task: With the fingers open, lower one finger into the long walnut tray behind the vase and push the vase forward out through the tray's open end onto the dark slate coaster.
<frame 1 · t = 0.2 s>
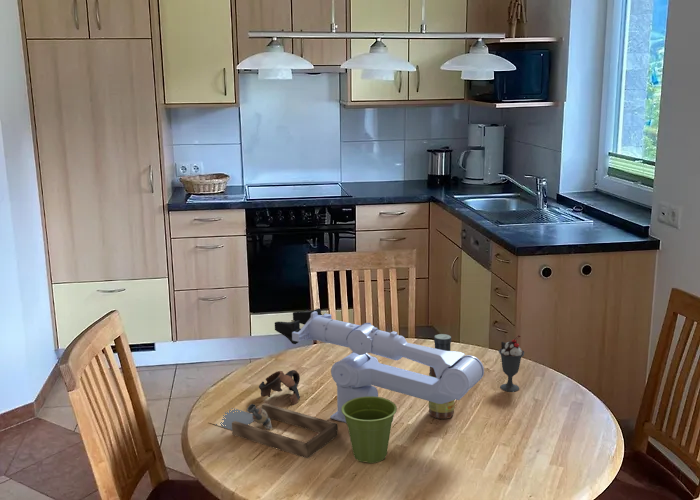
hand: (284, 320, 181), 21 cm above the table, tool horizontal, fingers open, 7 cm apart
sauce bottle: (441, 415, 177), on the table
walnut tray: (284, 435, 167), on the table
vase: (259, 427, 171), on the table, touching slate coaster
slate coaster: (234, 420, 175), on the table
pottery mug: (283, 398, 187), on the table
sundae: (509, 388, 191), on the table
plant pot: (369, 456, 158), on the table
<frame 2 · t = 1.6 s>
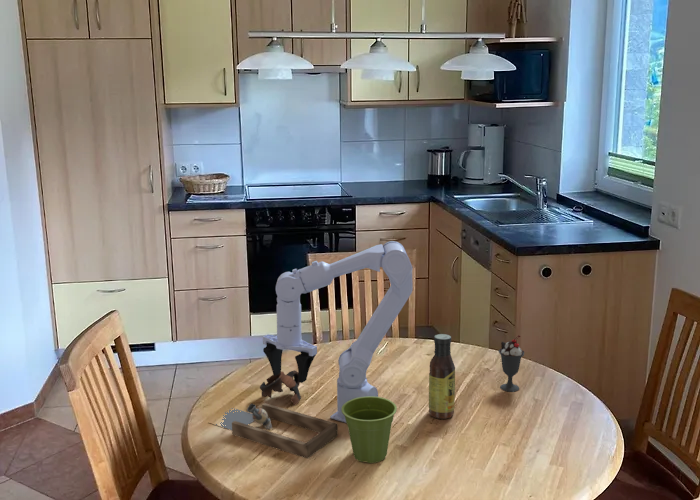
hand: (289, 377, 173), 10 cm above the table, tool pointing down, fingers open, 7 cm apart
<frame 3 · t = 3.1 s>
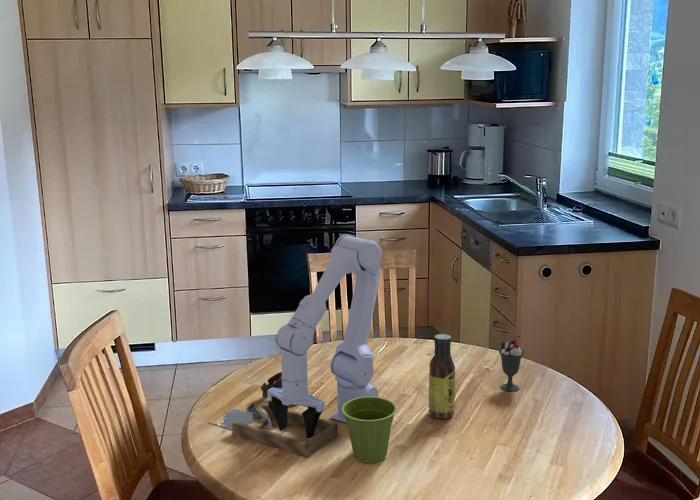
hand: (296, 433, 165), 1 cm above the table, tool pointing down, fingers open, 7 cm apart
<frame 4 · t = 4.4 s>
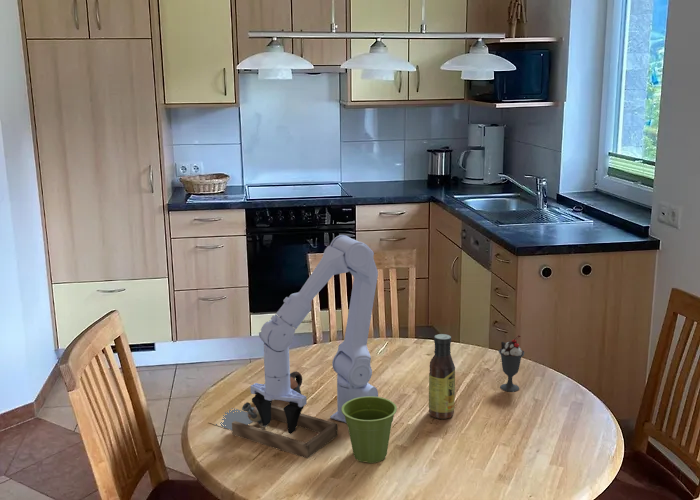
hand: (279, 427, 168), 1 cm above the table, tool pointing down, fingers open, 7 cm apart
vase: (254, 426, 172), on the table, touching gripper
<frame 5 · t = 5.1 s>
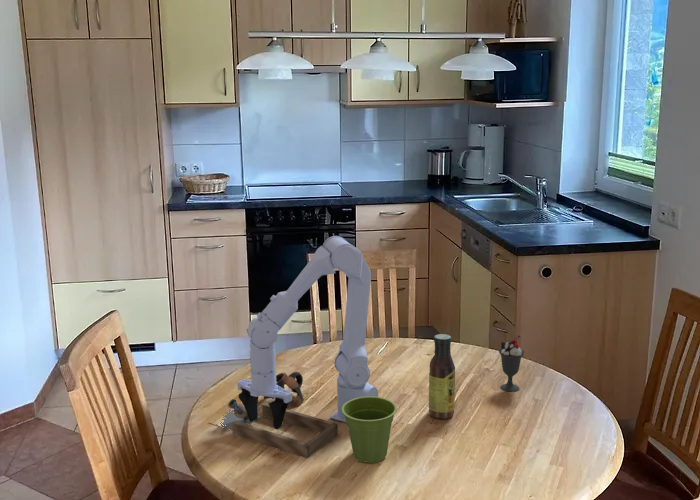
hand: (265, 423, 170), 1 cm above the table, tool pointing down, fingers open, 7 cm apart
vase: (240, 422, 174), resting on slate coaster, touching gripper
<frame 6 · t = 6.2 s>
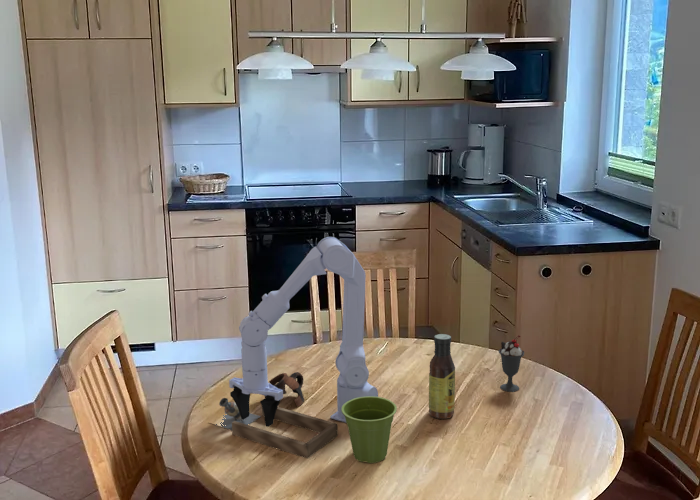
hand: (257, 421, 171), 1 cm above the table, tool pointing down, fingers open, 7 cm apart
vase: (231, 420, 175), resting on slate coaster, touching gripper
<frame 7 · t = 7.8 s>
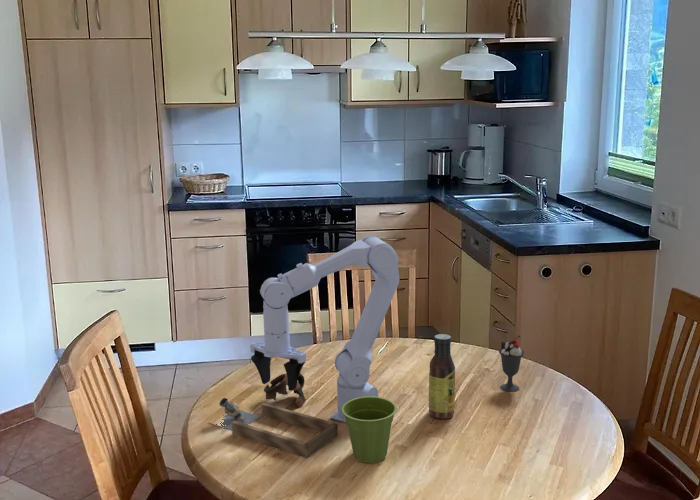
hand: (279, 385, 169), 10 cm above the table, tool pointing down, fingers open, 7 cm apart
vase: (231, 420, 175), resting on slate coaster
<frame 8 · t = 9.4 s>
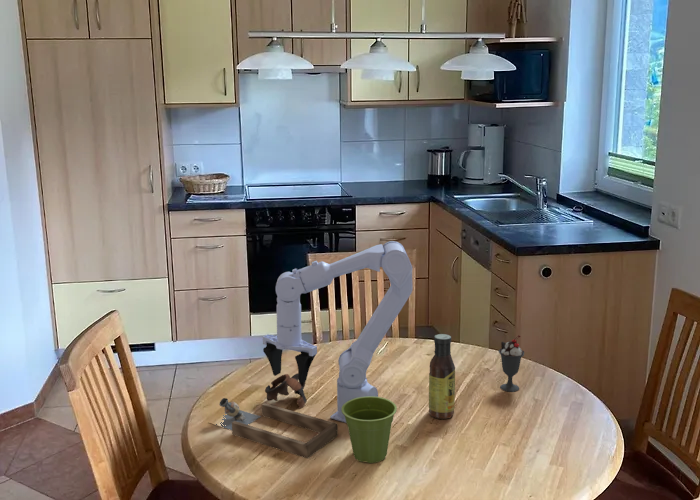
hand: (289, 377, 173), 10 cm above the table, tool pointing down, fingers open, 7 cm apart
at the end: vase 0.8 cm from the slate coaster (horizontally); vase touching slate coaster; vase inside the target area (0.7 cm from its centre), resting on slate coaster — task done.
